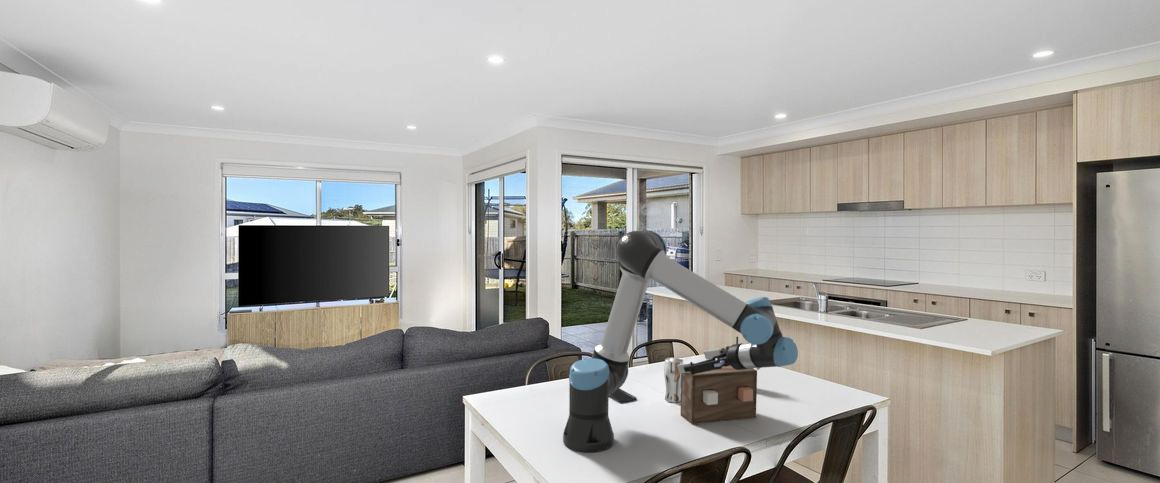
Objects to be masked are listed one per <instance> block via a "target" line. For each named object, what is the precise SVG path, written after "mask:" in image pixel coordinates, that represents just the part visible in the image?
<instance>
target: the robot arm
mask: <svg viewBox="0 0 1160 483" xmlns="http://www.w3.org/2000/svg"><path fill="white" fill-rule="evenodd" d="M667 252H668V247H667V244H666V240H665V239H664V238H663V236H662V235H661V234H659V233H657V232H656V231H652V230H648V229H642V230H632V231H628V232H627V233H625V234H623V235H622V236H621V237H620V239H619V240H618V243H617V245H616V257H617V259H618V262H619V263H620V264H619V269H620V271H621V273H622V274H621V278H620V281H619V285H618V287H617V291H616V293H615V297H614V300H613V305H612V306H611V310H610V314H609V317H608V321H607V324H606V327H605V329H604V332H603V336H602V340H601V343H599V344H597V345H596V346H594V350H593V352H592V356H591V358H584V359H579V360H576V361H575V362H574V363H572V365H571V366H570V369H569V376H568V381H569V387H568V388H569V389H568V390H569V391H568V392H569V393H568V394H569V395H568V398H569V400H568V401H569V402H568V403H569V404H568V406H569V407H568V408H569V409H568V410H569V414H568V418H567V422H566V424H565V428H564V430H563V434H562V441H563V444H564V446H566V447H567V448H569V449H571V450H573V451H577V452H581V453H582V452H584V453H595V452H596V453H597V452H601V451H606V450H608V449H609V448H611V447H612V446H613V445H614V443H615V435H614V434H615V433H614V431H613V427H612V424H611V421H610V418H609V417H610V416H609V399H610V398H609V396H610V395H611V394H612V393H613V392H614V391H616V390H617V389H619V388H620V389H621V387H622V386H623V385H624V384H625V382H626V380H627V379H628V375H629V362H630V355H629V352H628V349H629V347H630V346H629V345H630V343H631V340H632V337H633V334H634V330H635V328H636V324H637V321H638V318H639V315H640V312H641V308H642V306H643V302H644V299H645V297H646V293H647V290H648V287H649V286H648V285H649V283H650V282H651V281H654V282H656V283H657V284H659V285H661V286H663V288H666V289H667V290H669V291H671V292H672V293H674V294H676V295H677V296H679V297H681V298H682V299H684V300H685V301H687V302H688V303H690V304H692V305H694V306H695V307H697V308H698V309H700V310H702V311H704V312H706V313H707V314H709V315H710V316H712V317H714V318H715V319H716V320H719V321H720V322H722V323H723V324H725V325H727V326H729V327H730V328H732V329H733V330H734V331H736V332H738V333H739V334H741V335H742V337H743V339H744V340H745V341H746V342H743V343H738V344H736V343H735V344H732V345H728V346H726V347H723V348H721V349H719V348H718V349H711V350H710V349H709V350H704V351H703V354H704V358H705V360H703V361H699V362H695V363H694V362H693V361H690V362H687V363H683V364H679V365H677V366H678V369H679V372H680V373H690V372H691V375H694V374H697V373H702V372H706V371H711V370H716V369H721V368H722V367H723V366H725V367H726V366H732V367H733V368H734V369H736V370H743V369H752V368H753V369H756V370H757V371H758V370H760V369H761V368H775V367H776V368H777V367H778V368H781V367H786V366H792V365H793V364H795V363H796V361H797V360H798V357H799V350H798V346H797V343H795V342H794V339H793V338H791V337H789V336H788V337H787V336H783V333H782V331H781V329H780V326H779V323H778V319H777V317H776V315H775V311H774V307H773V305H772V304H771V301H770V299H769V298H768V297H767V296H760V297H756V298H753V299H749V300H746V301H745V302H744V301H743V300H741V299H740V298H738V297H736V296H734V295H733V294H731V293H730V292H728V291H726V290H725V289H723V288H721V287H720V286H717V285H716V284H715V283H712V282H710V281H709V280H707V279H706V278H704V277H702V276H700V275H699V274H697V273H696V272H693V271H692V270H690V269H688V268H687V267H685V266H684V265H681V264H680V263H678V262H676V261H675V260H673V259H671V258H669V257H668V256H667Z"/></svg>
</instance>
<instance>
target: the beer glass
mask: <svg viewBox="0 0 1160 483" xmlns="http://www.w3.org/2000/svg"><path fill="white" fill-rule="evenodd" d="M679 364H684V359H682V358H679V357H666V358H665V359H664V366H663V368H664V369H663V371H664V372H663V373H664V374H663V375H664V381H665V382H664V383H665V397H664V400H665V402H668V403H673V404H675V403H676V404H677V403H681V373H680V372H679V369H678V366H677V365H679Z"/></svg>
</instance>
